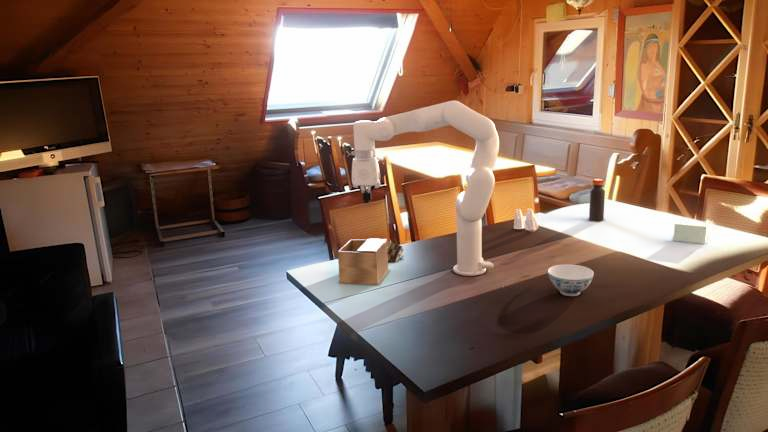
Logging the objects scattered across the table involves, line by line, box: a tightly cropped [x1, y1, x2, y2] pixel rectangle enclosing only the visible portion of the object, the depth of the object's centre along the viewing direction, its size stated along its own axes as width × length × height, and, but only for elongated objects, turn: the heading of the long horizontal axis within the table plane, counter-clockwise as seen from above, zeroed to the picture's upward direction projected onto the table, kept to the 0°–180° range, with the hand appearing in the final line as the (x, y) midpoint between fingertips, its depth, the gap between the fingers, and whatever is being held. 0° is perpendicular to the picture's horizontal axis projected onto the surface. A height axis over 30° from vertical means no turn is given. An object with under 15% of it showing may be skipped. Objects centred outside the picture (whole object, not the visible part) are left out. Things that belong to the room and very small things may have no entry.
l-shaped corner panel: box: [673, 219, 710, 245], centre depth 258 cm, size 12×12×8 cm
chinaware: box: [547, 263, 595, 297], centre depth 206 cm, size 15×15×8 cm
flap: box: [357, 238, 388, 252], centre depth 227 cm, size 7×15×1 cm, turn 165°
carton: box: [337, 239, 389, 286], centre depth 230 cm, size 15×16×12 cm
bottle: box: [588, 178, 606, 222], centre depth 292 cm, size 7×7×20 cm
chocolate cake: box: [387, 239, 405, 263], centre depth 251 cm, size 10×7×12 cm
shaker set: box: [513, 208, 539, 233], centre depth 281 cm, size 12×4×11 cm, turn 40°
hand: (367, 202), depth 226 cm, fingers closed
